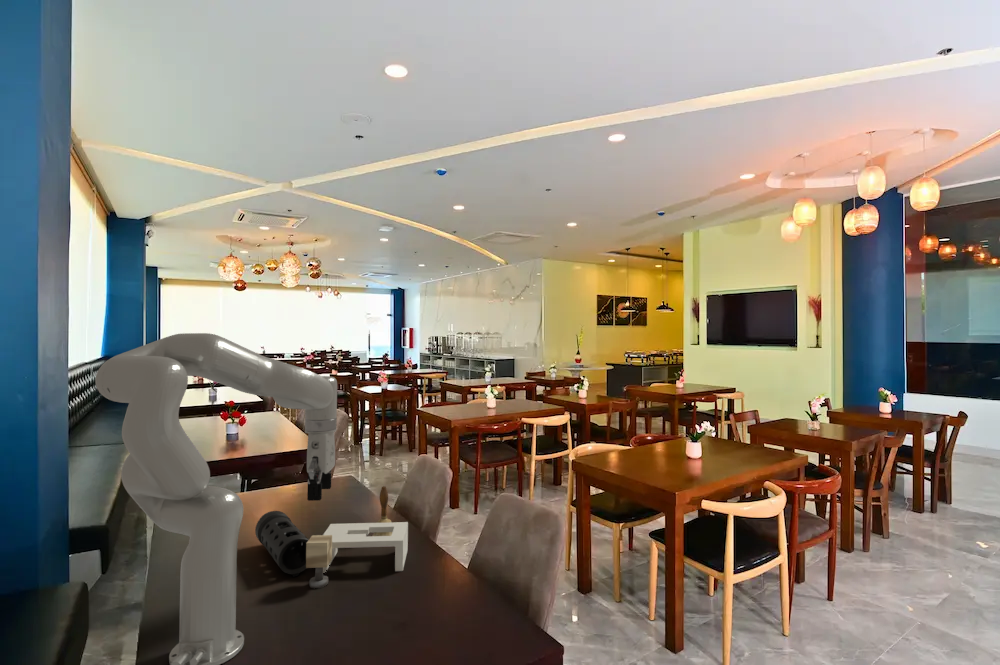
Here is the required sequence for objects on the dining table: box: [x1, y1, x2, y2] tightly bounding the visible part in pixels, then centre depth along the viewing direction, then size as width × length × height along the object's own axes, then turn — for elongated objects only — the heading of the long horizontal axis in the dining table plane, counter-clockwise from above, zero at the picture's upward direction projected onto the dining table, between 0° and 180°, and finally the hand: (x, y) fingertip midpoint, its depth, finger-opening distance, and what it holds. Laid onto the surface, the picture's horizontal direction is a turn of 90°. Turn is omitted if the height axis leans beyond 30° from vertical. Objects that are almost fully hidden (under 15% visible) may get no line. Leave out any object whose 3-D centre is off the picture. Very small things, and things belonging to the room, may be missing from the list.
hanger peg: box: [306, 534, 333, 589], centre depth 127 cm, size 5×5×11 cm
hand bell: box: [372, 485, 392, 536], centre depth 157 cm, size 8×8×16 cm
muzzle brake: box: [254, 510, 310, 577], centre depth 142 cm, size 10×28×10 cm, turn 37°
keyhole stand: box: [322, 521, 409, 574], centre depth 141 cm, size 14×22×8 cm, turn 95°
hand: (319, 494), depth 128 cm, fingers open, 9 cm apart
